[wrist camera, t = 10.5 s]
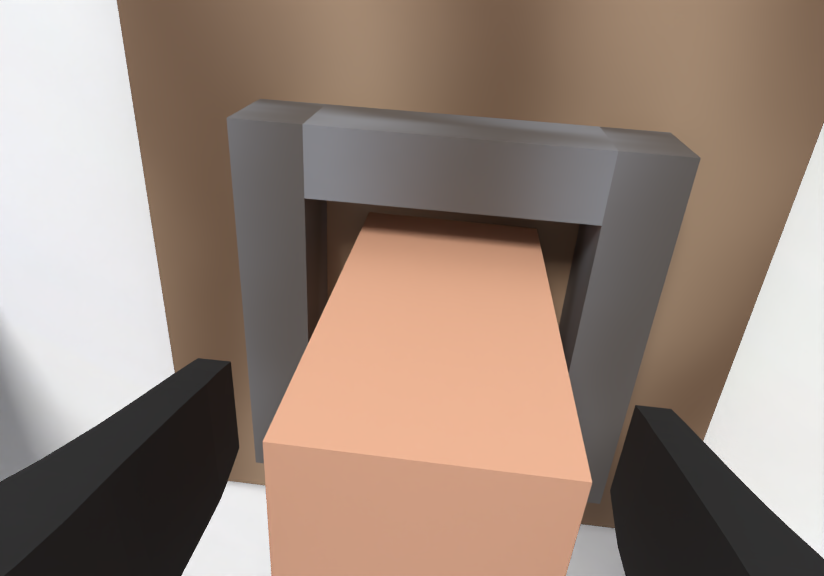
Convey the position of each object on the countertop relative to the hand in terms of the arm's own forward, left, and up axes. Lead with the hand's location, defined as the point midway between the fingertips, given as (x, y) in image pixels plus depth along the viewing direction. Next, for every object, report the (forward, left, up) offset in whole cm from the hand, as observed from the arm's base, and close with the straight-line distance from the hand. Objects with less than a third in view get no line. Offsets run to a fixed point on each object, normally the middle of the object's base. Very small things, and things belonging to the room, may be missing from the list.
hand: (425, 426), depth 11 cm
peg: (0, 0, -5) cm, 5 cm away
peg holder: (0, 0, -6) cm, 6 cm away
